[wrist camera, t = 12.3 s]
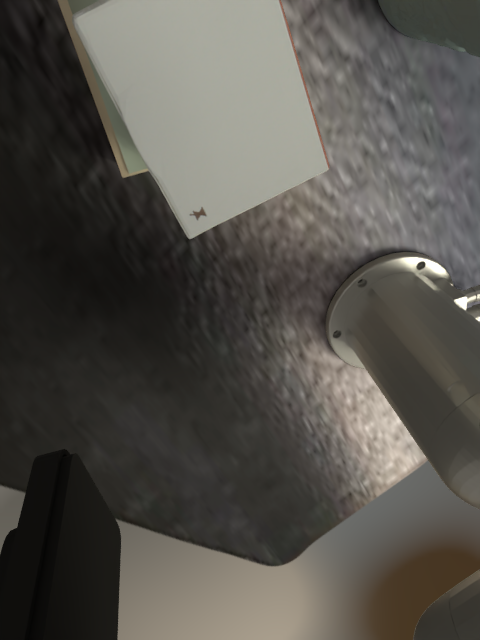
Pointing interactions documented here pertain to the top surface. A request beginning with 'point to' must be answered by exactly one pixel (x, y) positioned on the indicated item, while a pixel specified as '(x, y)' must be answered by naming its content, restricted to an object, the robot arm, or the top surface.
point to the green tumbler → (437, 21)
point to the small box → (207, 100)
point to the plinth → (104, 99)
